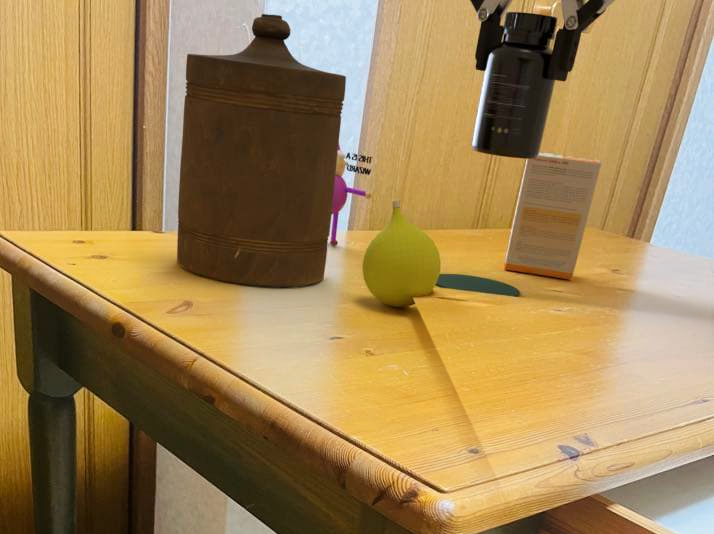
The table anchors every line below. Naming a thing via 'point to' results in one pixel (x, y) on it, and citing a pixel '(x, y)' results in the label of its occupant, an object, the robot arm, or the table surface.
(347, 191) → the wizard figurine
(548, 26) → the supplement bottle
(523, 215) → the supplement box
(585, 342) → the table surface
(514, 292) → the dark green coaster
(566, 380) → the table surface
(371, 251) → the yellow-green fig
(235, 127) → the wooden container
